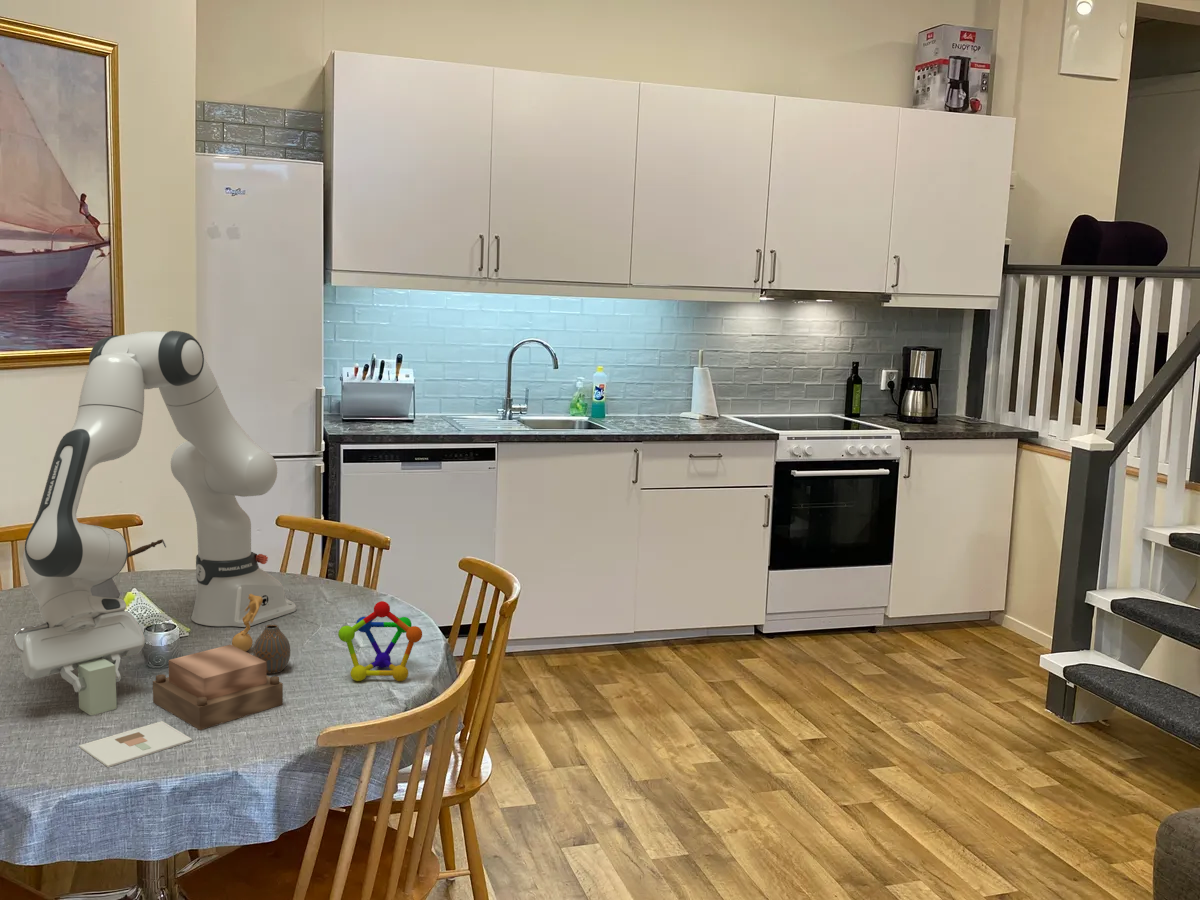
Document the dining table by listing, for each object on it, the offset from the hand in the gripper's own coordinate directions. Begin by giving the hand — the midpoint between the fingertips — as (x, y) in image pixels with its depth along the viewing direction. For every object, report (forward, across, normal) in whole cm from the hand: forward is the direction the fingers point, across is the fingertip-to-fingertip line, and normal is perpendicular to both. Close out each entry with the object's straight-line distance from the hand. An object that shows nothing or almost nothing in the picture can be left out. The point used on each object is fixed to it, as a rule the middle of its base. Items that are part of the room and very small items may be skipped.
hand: (98, 685), depth 190 cm
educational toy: (+16, +46, -10) cm, 50 cm away
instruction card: (+15, -2, -9) cm, 18 cm away
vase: (+6, +32, +1) cm, 33 cm away
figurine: (-3, +34, +9) cm, 35 cm away
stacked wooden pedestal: (+11, +16, -5) cm, 20 cm away
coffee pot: (-34, +28, +40) cm, 60 cm away
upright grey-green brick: (+3, 0, +4) cm, 4 cm away
